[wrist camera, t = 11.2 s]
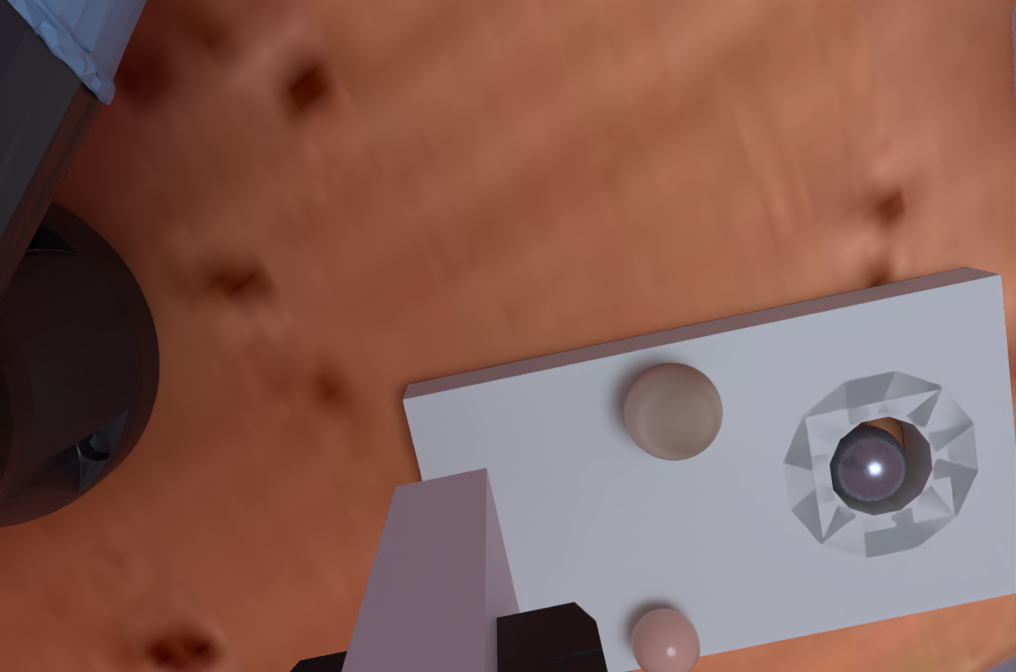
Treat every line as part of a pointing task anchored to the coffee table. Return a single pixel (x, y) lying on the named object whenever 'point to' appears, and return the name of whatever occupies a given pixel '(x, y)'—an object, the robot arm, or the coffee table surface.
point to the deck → (752, 468)
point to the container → (1014, 42)
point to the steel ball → (868, 465)
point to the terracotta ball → (665, 642)
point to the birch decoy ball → (672, 411)
